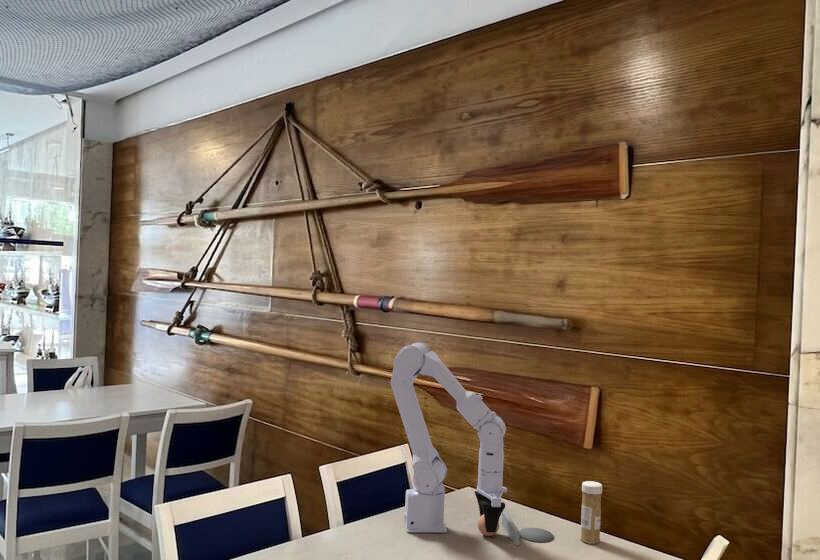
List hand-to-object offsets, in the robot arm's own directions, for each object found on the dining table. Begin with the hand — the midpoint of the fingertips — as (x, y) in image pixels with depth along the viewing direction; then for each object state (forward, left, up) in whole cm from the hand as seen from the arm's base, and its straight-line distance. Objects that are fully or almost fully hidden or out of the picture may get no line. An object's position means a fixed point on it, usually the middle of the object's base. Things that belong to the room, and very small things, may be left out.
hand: (488, 527), depth 155 cm
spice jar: (+23, -3, -2) cm, 24 cm away
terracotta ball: (0, 0, -2) cm, 2 cm away
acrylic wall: (+5, +1, -2) cm, 6 cm away
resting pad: (+11, 0, -2) cm, 12 cm away
